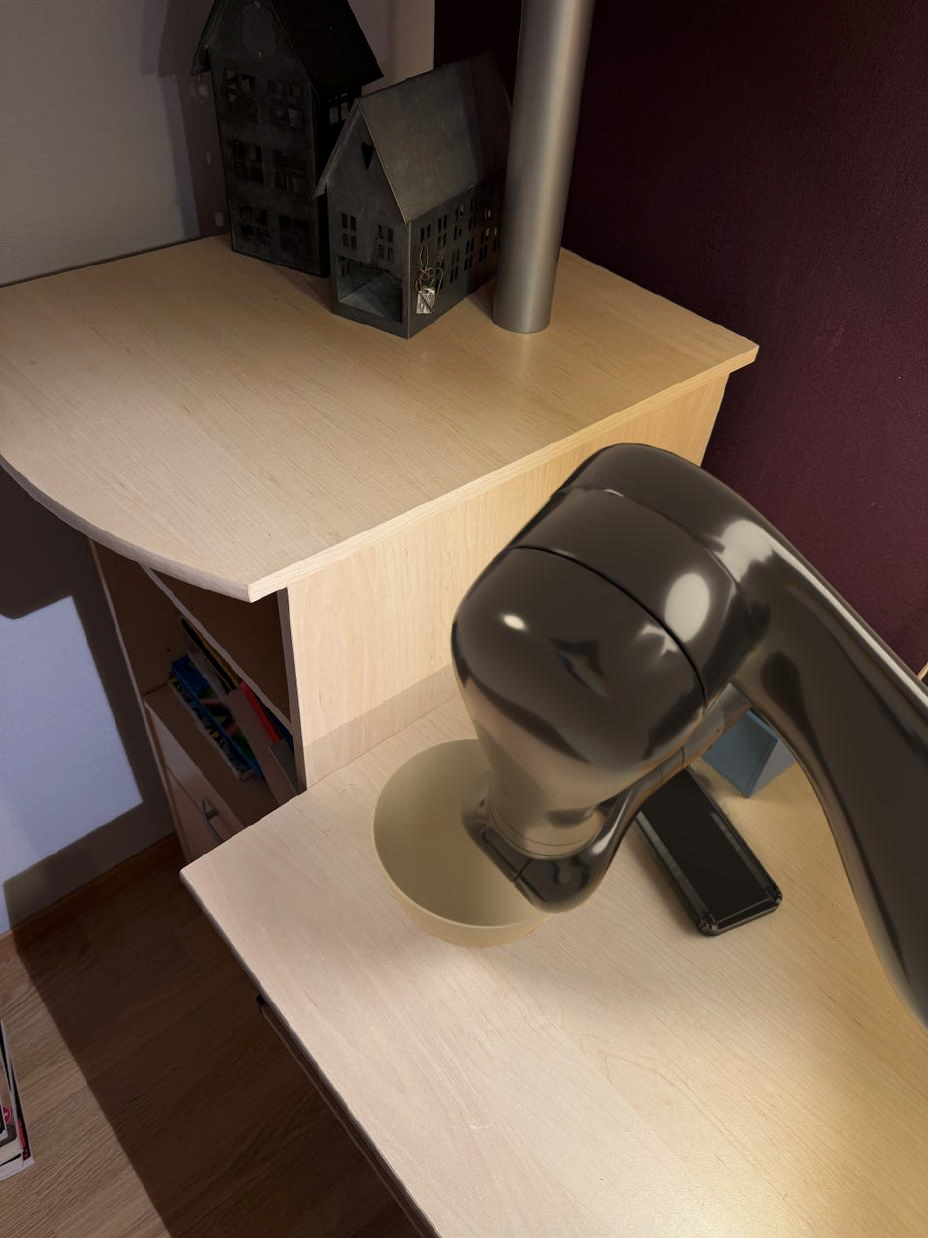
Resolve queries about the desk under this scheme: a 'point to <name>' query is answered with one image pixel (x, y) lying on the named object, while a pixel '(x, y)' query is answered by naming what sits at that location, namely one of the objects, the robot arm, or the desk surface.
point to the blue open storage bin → (749, 755)
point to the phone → (705, 857)
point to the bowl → (445, 851)
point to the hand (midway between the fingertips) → (786, 610)
